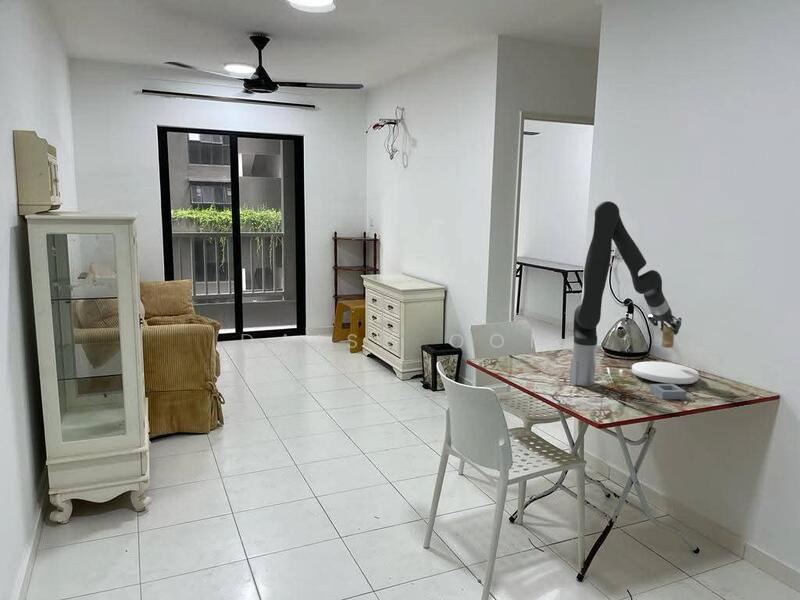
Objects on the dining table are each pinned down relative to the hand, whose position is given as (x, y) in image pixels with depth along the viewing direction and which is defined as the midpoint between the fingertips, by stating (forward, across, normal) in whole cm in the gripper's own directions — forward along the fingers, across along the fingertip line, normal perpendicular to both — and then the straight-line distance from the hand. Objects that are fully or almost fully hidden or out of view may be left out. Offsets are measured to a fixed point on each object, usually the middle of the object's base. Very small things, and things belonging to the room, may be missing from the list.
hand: (670, 331), depth 248 cm
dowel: (+3, 0, +6) cm, 6 cm away
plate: (+13, 0, +16) cm, 21 cm away
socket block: (-2, -11, +30) cm, 32 cm away
